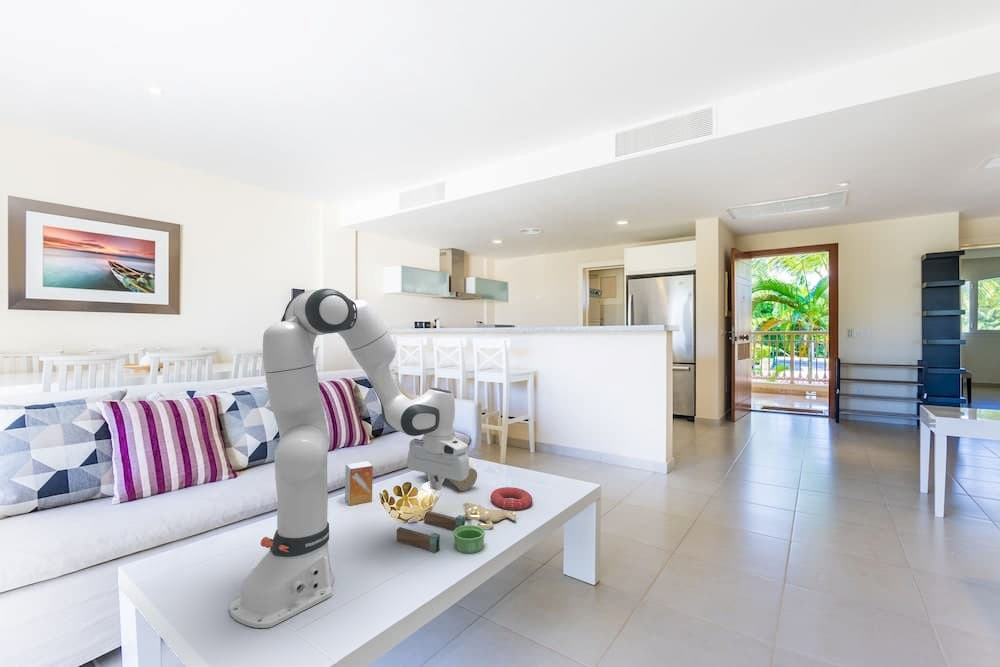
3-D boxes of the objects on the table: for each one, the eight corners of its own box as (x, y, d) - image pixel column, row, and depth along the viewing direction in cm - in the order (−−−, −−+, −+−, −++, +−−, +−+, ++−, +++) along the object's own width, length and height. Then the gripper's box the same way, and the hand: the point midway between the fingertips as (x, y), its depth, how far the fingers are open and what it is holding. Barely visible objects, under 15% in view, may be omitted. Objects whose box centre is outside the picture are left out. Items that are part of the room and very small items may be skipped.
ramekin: (450, 541, 132) (450, 526, 132) (480, 537, 134) (480, 523, 134) (456, 556, 123) (456, 540, 123) (488, 552, 126) (488, 537, 126)
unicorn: (445, 504, 148) (481, 494, 161) (444, 516, 148) (480, 505, 161) (489, 522, 135) (524, 509, 148) (488, 535, 135) (524, 521, 148)
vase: (503, 455, 172) (462, 422, 195) (455, 455, 157) (416, 420, 180) (486, 509, 175) (447, 471, 197) (436, 515, 160) (400, 473, 182)
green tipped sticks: (435, 553, 124) (435, 537, 124) (395, 541, 131) (396, 526, 131) (464, 530, 138) (464, 516, 138) (427, 520, 145) (427, 507, 144)
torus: (540, 506, 159) (541, 496, 159) (509, 515, 151) (509, 505, 150) (512, 492, 172) (512, 482, 172) (482, 500, 163) (482, 490, 163)
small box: (349, 506, 155) (349, 468, 155) (344, 500, 160) (345, 463, 160) (372, 501, 159) (373, 465, 159) (367, 495, 165) (367, 460, 164)
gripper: (403, 439, 135) (401, 485, 135) (461, 450, 125) (458, 500, 126) (416, 435, 140) (414, 479, 140) (472, 446, 131) (470, 493, 131)
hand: (435, 489), depth 133 cm, fingers closed
